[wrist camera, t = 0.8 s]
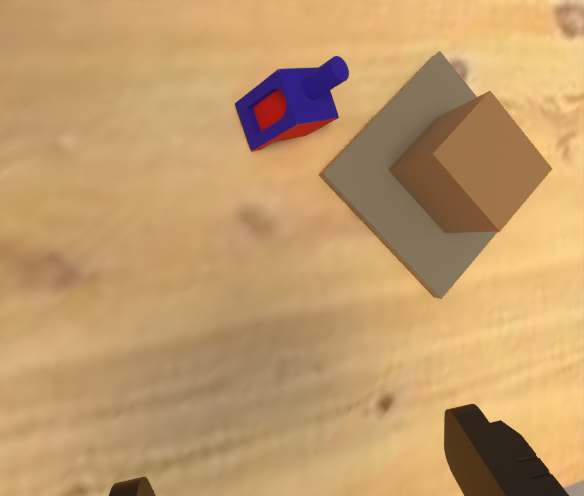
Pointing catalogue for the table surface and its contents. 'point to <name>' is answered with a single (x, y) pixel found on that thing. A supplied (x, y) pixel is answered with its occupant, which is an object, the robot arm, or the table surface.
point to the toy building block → (291, 103)
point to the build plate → (390, 196)
